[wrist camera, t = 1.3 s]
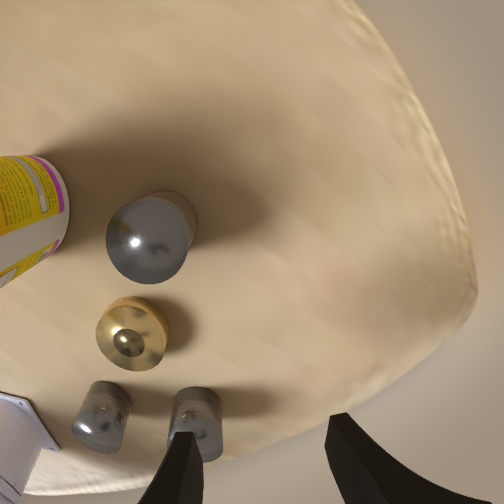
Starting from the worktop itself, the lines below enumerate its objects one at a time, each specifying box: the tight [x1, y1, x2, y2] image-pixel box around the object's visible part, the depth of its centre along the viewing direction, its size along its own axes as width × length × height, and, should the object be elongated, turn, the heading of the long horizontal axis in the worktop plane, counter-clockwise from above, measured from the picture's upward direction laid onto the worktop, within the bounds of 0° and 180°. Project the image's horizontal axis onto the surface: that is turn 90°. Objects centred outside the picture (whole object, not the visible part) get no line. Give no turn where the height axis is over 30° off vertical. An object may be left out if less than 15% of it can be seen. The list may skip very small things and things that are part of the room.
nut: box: [96, 297, 169, 371], centre depth 17 cm, size 4×4×2 cm
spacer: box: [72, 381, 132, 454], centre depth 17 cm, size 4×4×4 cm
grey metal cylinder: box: [106, 191, 197, 284], centre depth 14 cm, size 4×4×4 cm
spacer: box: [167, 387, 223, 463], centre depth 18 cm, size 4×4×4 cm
